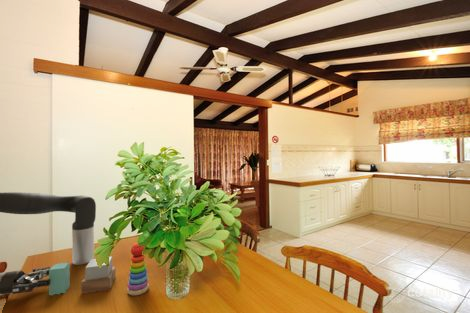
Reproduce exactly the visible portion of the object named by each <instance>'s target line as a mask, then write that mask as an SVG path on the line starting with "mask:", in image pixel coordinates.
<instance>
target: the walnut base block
mask: <svg viewBox="0 0 470 313" xmlns="http://www.w3.org/2000/svg"><path fill="white" fill-rule="evenodd" d="M116 277H117V276H116V266H112V269H111V272H110V274H109V277H104V278H98V279H92V280H86V275H85V276H84V278H83V279H82V280H81V282H80V283H81V284H80V286H81V287H80V288H81V291H80V292H81V293H85V294H89V293H88V292H91V293H96V291H98V292H103V290H104V291H110V290H111V289H110V288H112V286H113V284H114V282H113V281H115V279H116ZM109 289H110V290H109Z"/></svg>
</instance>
